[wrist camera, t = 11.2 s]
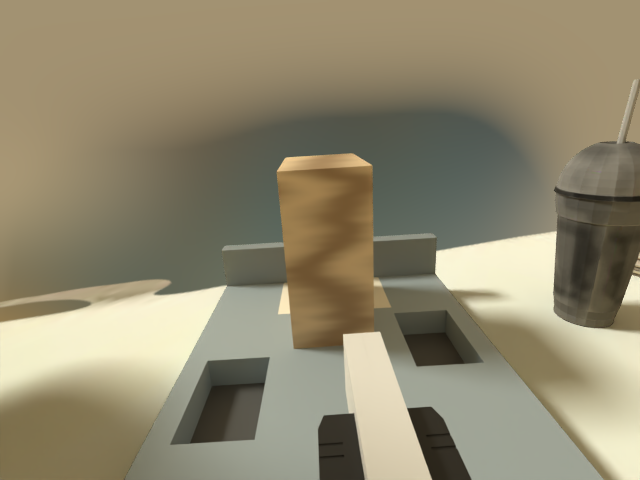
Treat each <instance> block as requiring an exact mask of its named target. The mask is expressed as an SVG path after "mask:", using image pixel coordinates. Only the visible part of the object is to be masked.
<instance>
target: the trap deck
mask: <svg viewBox="0 0 640 480" xmlns="http://www.w3.org/2000/svg"><path fill="white" fill-rule="evenodd" d="M436 241H437V238H436V236H434V235H433V234H432V233H431V234H414V235H398V236H380V237H373V270H374V332H380V333H381V336H382V339H383V342H384V345H385V348H386V350H387V353H388V356H389V359H390V362H391V365H392V367H393V370H394V373H395V376H396V379H397V382H398V385H399V387H400V390H401V393H402V396H403V399H404V402H405V404H406V407H407V408H417V407H432V408H433V409H434V410H435V411H436V412H437V413H438V414H439V415H440V416H441V417H442V418H443V419H444V421H445V423H446V425H447V428H448V430H449V432H450V435H451V436H452V438H453V440H454V443H455V445H456V449H458V451H459V453H460V456H461V458H462V460H463V462H464V464H465V466H466V469H467V471H468V473H469V475H470V477H471V479H472V480H604V479H603V478H602V477H601V475H600V474H599V473H598V472H597V470H596V469H595V468H594V467H593V466H592V464H591V463H590V462H589V461H588V460H587V458H586V457H585V456H584V455H583V453H582V452H581V451H580V450H579V449H578V447H577V446H576V445H575V444H574V442H573V441H572V440H571V439H570V438H569V436H568V435H567V434H566V433H565V431H564V430H563V429H562V428H561V427H560V425H559V424H558V423H557V422H556V421H555V419H554V418H553V417H552V416H551V414H550V413H549V412H548V411H547V410H546V408H545V407H544V406H543V405H542V403H541V402H540V401H539V400H538V399H537V397H536V396H535V395H534V394H533V392H532V391H531V390H530V389H529V388H528V386H527V385H526V384H525V383H524V381H523V380H522V379H521V378H520V377H519V375H518V374H517V373H516V372H515V371H514V369H513V368H512V367H511V366H510V364H509V363H508V362H507V361H506V360H505V358H504V357H503V356H502V355H501V353H500V352H499V351H498V350H497V349H496V347H495V346H494V345H493V344H492V342H491V341H490V340H489V339H488V338H487V336H486V335H485V334H484V333H483V332H482V330H481V329H480V328H479V327H478V325H477V324H476V323H475V322H474V321H473V319H472V318H471V317H470V316H469V314H468V313H467V312H466V311H465V310H464V308H463V307H462V306H461V305H460V303H459V302H458V301H457V300H456V299H455V297H454V296H453V295H452V294H451V293H450V291H449V290H448V289H447V288H446V286H445V285H444V284H443V283H442V282H441V280H440V279H439V278H438V277H437V275H436V274H435V264H436V243H437V242H436ZM222 257H223V264H224V270H225V277H226V283H227V287H226V289H225V291H224V293H223V295H222V296H221V298H220V300H219V302H218V304H217V306H216V308H215V310H214V311H213V313H212V315H211V317H210V319H209V321H208V323H207V325H206V327H205V328H204V330H203V332H202V334H201V336H200V338H199V340H198V342H197V343H196V345H195V347H194V349H193V351H192V353H191V355H190V357H189V358H188V360H187V362H186V364H185V366H184V368H183V370H182V372H181V373H180V375H179V377H178V379H177V381H176V383H175V385H174V387H173V388H172V390H171V392H170V394H169V396H168V398H167V400H166V402H165V403H164V405H163V407H162V409H161V411H160V413H159V415H158V417H157V418H156V420H155V422H154V424H153V426H152V428H151V430H150V432H149V433H148V435H147V437H146V439H145V441H144V443H143V445H142V447H141V448H140V450H139V452H138V454H137V456H136V458H135V460H134V462H133V463H132V465H131V467H130V469H129V471H128V473H127V475H126V477H125V478H124V480H320V479H319V449H318V427H319V425H320V423H321V420H322V418H323V416H324V415H335V414H349V411H348V404H347V397H346V390H345V368H344V345H341V346H327V347H313V348H299V349H294V348H293V337H292V327H291V316H290V306H289V295H288V285H287V274H286V263H285V253H284V242H282V243H264V244H250V245H249V244H248V245H231V246H225V247H224V248H223V249H222Z"/></svg>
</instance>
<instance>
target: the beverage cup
mask: <svg viewBox="0 0 640 480" xmlns="http://www.w3.org/2000/svg"><path fill="white" fill-rule="evenodd" d="M639 89H640V80H639V79H638V80H634V81H633V85H632V88H631V92H630V96H629V100H628V103H627V107H626V111H625V115H624V118H623V122H622V126H621V129H620V133H619V137H618V141H617V142H600V143H597V144H594V145H591V146H589V147H587V148H585V149H584V150H582V151H581V152H579V153H578V154H576V155H575V156H574V157H573V158H572V159H571V160H570V161H569V162H568V163H567V165H566V166H565V167H564V169H563V171H562V172H561V174H560V177H559V179H558V183H557V186H556V187H555V189H554V191H555V192H556V199H555V201H556V212H557V214H558V219H557V237H556V255H555V274H554V292H553V295H554V312H555V313H556V314H557V315H558V316H559V317H561V318H562V319H564V320H566V321H568V322H571V323H574V324H577V325H581V326H585V327H593V328H603V327H608V326H610V325H612V324H613V321H614V317H615V316H616V314H617V311H618V309H620V306H621V303H622V300H623V298H624V295H625V292H626V289H627V287H628V284H629V281H630V278H631V276H632V273H633V270H634V267H635V264H636V262H637V259H638V256H639V253H640V144H637V143H635V142H625V141H626V137H627V133H628V130H629V126H630V122H631V118H632V115H633V111H634V108H635V104H636V100H637V96H638V93H639Z"/></svg>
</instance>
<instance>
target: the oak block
mask: <svg viewBox="0 0 640 480" xmlns="http://www.w3.org/2000/svg"><path fill="white" fill-rule="evenodd" d="M277 179H278V189H279V200H280V211H281V221H282V232H283V242H284V253H285V263H286V274H287V285H288V295H289V306H290V316H291V327H292V337H293V348H294V349H299V348H313V347H327V346H341V345H343V334H354V333H369V332H374V270H373V183H372V165H371V164H369V163H367V162H366V161H364V160H362V159H361V158H359V157H358V156H356V155H354V154H352V153H351V154H336V155H321V156H304V157H288V158H285V160H284V161H283V163H282V164H281V166H280V167H279V169H278V170H277Z"/></svg>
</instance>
